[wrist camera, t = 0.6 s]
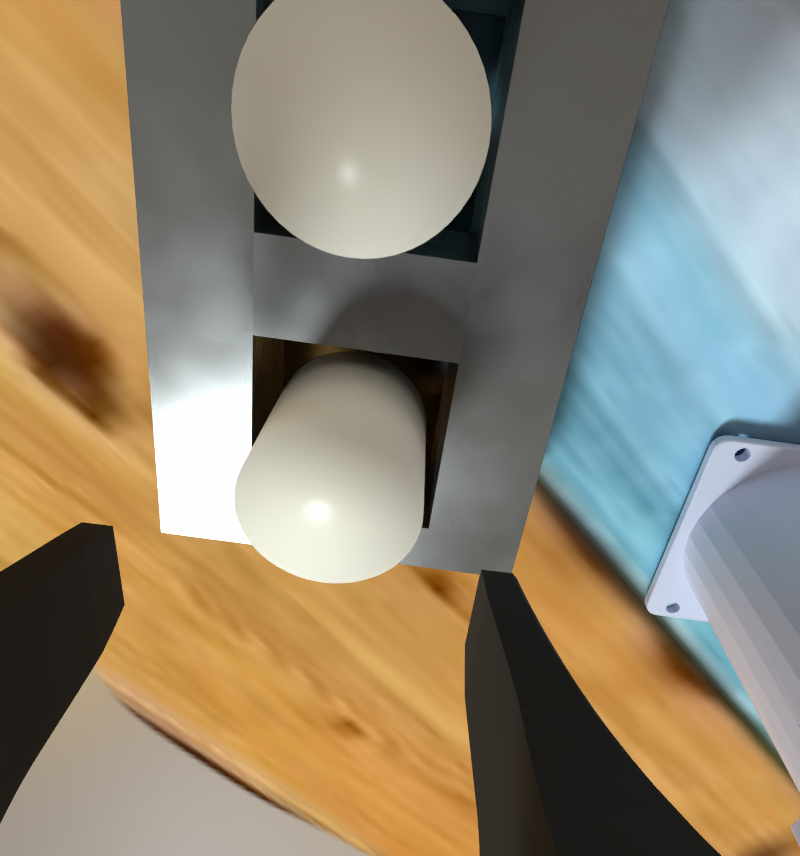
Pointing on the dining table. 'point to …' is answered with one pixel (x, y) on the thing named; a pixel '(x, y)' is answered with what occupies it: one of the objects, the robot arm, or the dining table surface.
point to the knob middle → (361, 121)
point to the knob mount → (379, 264)
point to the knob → (337, 471)
